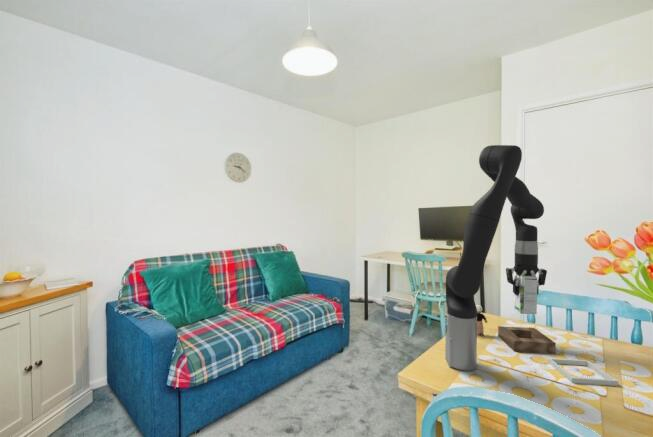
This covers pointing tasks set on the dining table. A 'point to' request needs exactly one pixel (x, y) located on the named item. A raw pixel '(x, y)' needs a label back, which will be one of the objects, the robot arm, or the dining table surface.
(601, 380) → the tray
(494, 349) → the dining table surface
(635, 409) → the dining table surface
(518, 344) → the socket block
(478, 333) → the grandmother figurine
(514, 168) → the robot arm
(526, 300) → the syrup box
